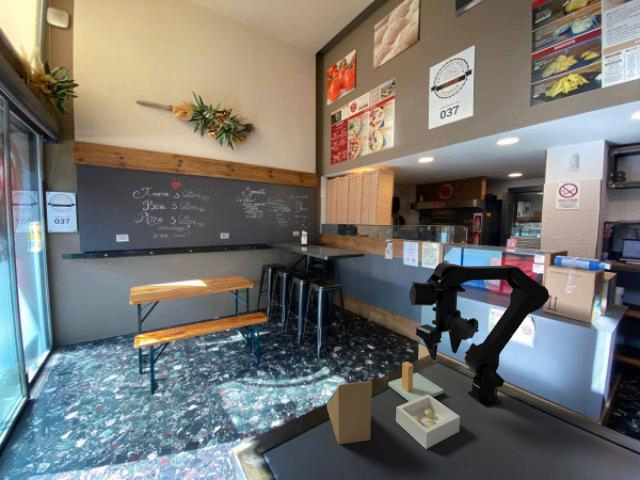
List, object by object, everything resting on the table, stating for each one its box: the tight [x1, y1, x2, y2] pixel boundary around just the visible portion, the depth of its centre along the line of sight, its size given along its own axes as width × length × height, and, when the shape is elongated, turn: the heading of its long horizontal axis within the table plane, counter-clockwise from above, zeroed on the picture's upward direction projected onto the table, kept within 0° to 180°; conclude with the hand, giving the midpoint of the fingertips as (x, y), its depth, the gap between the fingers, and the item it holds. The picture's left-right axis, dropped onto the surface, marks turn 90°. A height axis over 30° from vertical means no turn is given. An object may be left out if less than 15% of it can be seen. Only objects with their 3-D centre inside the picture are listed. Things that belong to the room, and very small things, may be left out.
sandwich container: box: [325, 381, 373, 445], centre depth 73 cm, size 9×15×15 cm, turn 10°
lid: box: [387, 361, 444, 402], centre depth 85 cm, size 13×11×10 cm
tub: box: [395, 394, 461, 450], centre depth 71 cm, size 12×10×4 cm
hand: (444, 356), depth 82 cm, fingers open, 9 cm apart
